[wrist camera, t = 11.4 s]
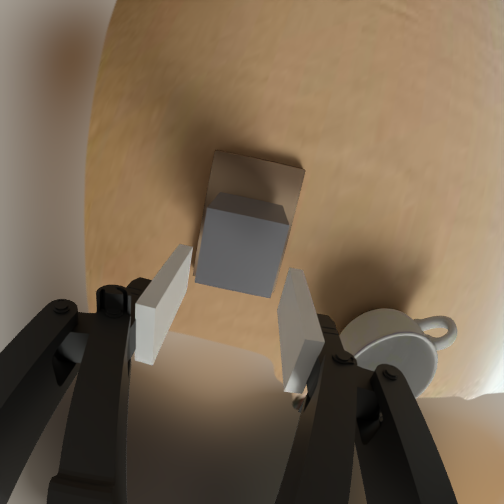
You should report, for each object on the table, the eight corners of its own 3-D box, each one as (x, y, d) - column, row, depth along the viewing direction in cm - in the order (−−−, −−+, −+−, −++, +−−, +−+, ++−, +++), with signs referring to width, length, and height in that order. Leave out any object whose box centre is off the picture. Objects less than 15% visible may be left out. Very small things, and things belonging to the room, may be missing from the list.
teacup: (337, 380, 35) (349, 428, 28) (314, 315, 32) (327, 363, 24) (434, 340, 33) (462, 379, 26) (428, 270, 30) (465, 303, 22)
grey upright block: (220, 191, 26) (207, 207, 19) (282, 205, 26) (289, 225, 20) (209, 250, 27) (194, 282, 21) (268, 263, 28) (270, 298, 21)
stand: (216, 150, 26) (199, 152, 19) (303, 169, 27) (320, 179, 19) (195, 270, 31) (175, 312, 23) (273, 287, 31) (276, 333, 23)
